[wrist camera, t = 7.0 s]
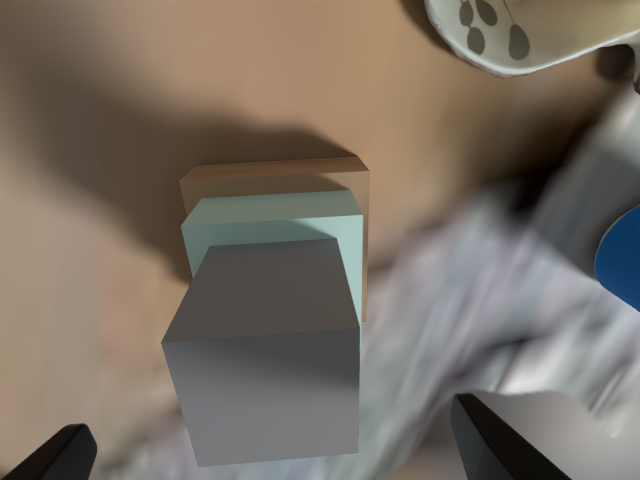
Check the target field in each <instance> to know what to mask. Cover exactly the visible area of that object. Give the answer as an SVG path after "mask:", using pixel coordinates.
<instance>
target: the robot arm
mask: <svg viewBox="0 0 640 480" xmlns="http://www.w3.org/2000/svg"><path fill="white" fill-rule="evenodd" d="M450 422H451V427H452V430H453V433H454V436H455V440H456V443H457V446H458V449H459V452H460V456H461V459H462V462H463V465H464V469H465V472H466V475H467V478H468V480H572V479H571V478H569V477H568V476H567V475H566V474H565V473H564V472H562V471H561V470H560V469H559V468H558V467H557V466H556V465H554V464H553V463H552V462H551V461H550V460H549V459H547V458H546V457H545V456H544V455H543V454H542V453H540V452H539V451H538V450H537V449H536V448H535V447H534V446H532V445H531V444H530V443H529V442H528V441H527V440H526V439H524V438H523V437H522V436H521V435H520V434H519V433H517V432H516V431H515V430H514V429H513V428H512V427H511V426H509V425H508V424H507V423H506V422H505V421H504V420H502V419H501V418H500V417H499V416H498V415H497V414H496V413H494V412H493V411H492V410H491V409H490V408H488V407H487V406H486V405H485V404H484V403H483V402H482V401H481V400H479V399H478V398H477V397H476V396H475V395H473V394H472V393H468V392H466V393H456V394H455V395H454V396H453V400H452V406H451V412H450ZM96 454H97V444H96V442H95V440H94V438H93V435H92V433H91V431H90V429H89V427H88V426H87V425H86V424H84V423H81V424H70V425H67V426H65V427H63V428H62V429H61V430H59V431H58V432H57V433H56V434H55V435H53V436H52V437H51V438H50V439H49V440H47V441H46V442H45V443H44V444H43V445H42V446H40V447H39V448H38V449H37V450H36V451H34V452H33V453H32V454H31V455H30V456H28V457H27V458H26V459H25V460H24V461H22V462H21V463H20V464H19V465H18V466H16V467H15V468H14V469H13V470H12V471H10V472H9V473H8V474H7V475H6V476H5V477H3V478H2V479H1V480H88V479H89V476H90V473H91V470H92V467H93V464H94V461H95V458H96Z"/></svg>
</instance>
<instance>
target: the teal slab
mask: <svg viewBox="0 0 640 480" xmlns="http://www.w3.org/2000/svg"><path fill="white" fill-rule="evenodd" d="M181 229H182V234H183V238H184V243H185V247H186V251H187V256H188V260H189V264H190V269H191V273H192V277H193V278H194V276H195V274H196V272H197V270H198V268H199V266H200V264H201V262H202V260H203V258H204V256H205V254H206V252H207V250H208V248H209V246H220V245H236V244H252V243H269V242H285V241H301V240H317V239H334V238H337V241H338V244H339V248H340V252H341V256H342V260H343V264H344V268H345V271H346V275H347V279H348V283H349V287H350V291H351V295H352V298H353V302H354V306H355V310H356V314H357V318H358V322H359V325H360V352H361V310H362V248H363V214H362V212H361V210H360V208H359V206H358V204H357V202H356V200H355V198H354V196H353V193H352V191H351V190H342V191H324V192H306V193H289V194H271V195H253V196H236V197H218V198H202V199H201V200H200V201H199V203H198V204H197V205H196V206H195V208H194V209H193V210H192V212H191V213H190V214H189V216H188V217H187V218H186V220H185V221H184V222H183V223H182V225H181Z"/></svg>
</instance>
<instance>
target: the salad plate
mask: <svg viewBox="0 0 640 480" xmlns="http://www.w3.org/2000/svg"><path fill="white" fill-rule="evenodd" d="M424 3H425V8H426V12H427V15H428V18H429V21H430V23H431V24H432V25H433V27H434V28H435V29H436V31H437V33H438V34H439V35H440V36H441V38H442V39H443V40H444V41H445V42H446V43H447V44H448V45H449V46H450V47H451V49H452V50H453V52H454V53H455V54H456V55H457V56H458V57H459V58H461V59H464V60H466V61H468V62H469V63H471V64H473V65H474V66H476V67H478V68H481V69H483V70H485V71H487V72H489V73H490V74H492V75H494V76H496V77H500V78H510V77H516V76H521V75H527V74H530V73H533V72H535V71H537V70H540V69H543V68H545V67H548V66H553V65H556V64H559V63H562V62H564V61H568V60H572V59H574V58H576V57H578V56H580V55H583V54H586V53H589V52H592V51H594V50H596V49H598V48H600V47H608V46H613V45H617V44H628V45H629V46H630V47H632V49H633V50H634V53H635V74H634V80H633V85H634V90H635V91H636V92H637V93H638V94H639V95H640V0H424Z"/></svg>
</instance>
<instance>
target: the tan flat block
mask: <svg viewBox="0 0 640 480" xmlns="http://www.w3.org/2000/svg"><path fill="white" fill-rule="evenodd" d="M179 185H180V190H181V195H182V199H183V204H184V208H185V213H186V217H188V216H189V214H190V213H191V212H192V210H193V209H194V208H195V206H196V205H197V204H198V203H199V201H200V200H201V199H202V198H218V197H236V196H253V195H271V194H289V193H306V192H324V191H342V190H351V191H352V193H353V196H354V198H355V200H356V202H357V204H358V206H359V208H360V210H361V212H362V214H363V248H362V310H361V322H366V300H367V256H368V212H369V170H368V168H367V167H366V166H365V165H364V163H363V162H362V161H361V160H360V158H359V157H358V156H352V157H333V158H314V159H295V160H277V161H258V162H239V163H220V164H201V165H196V166H195V167H194V168H193V169H192V170H191V171H190V172H188V173H187V174H186V175H185V176H184V177H183V178H182V179H181V180H180V181H179Z"/></svg>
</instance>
